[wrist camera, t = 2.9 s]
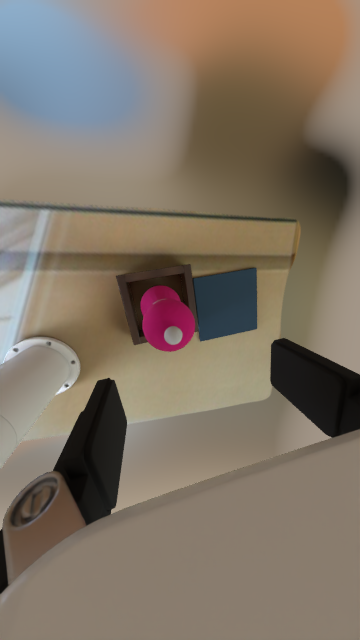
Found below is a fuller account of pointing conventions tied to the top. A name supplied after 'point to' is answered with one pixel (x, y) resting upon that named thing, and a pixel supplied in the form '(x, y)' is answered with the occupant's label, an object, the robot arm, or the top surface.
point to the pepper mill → (166, 319)
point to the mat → (226, 303)
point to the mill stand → (124, 279)
